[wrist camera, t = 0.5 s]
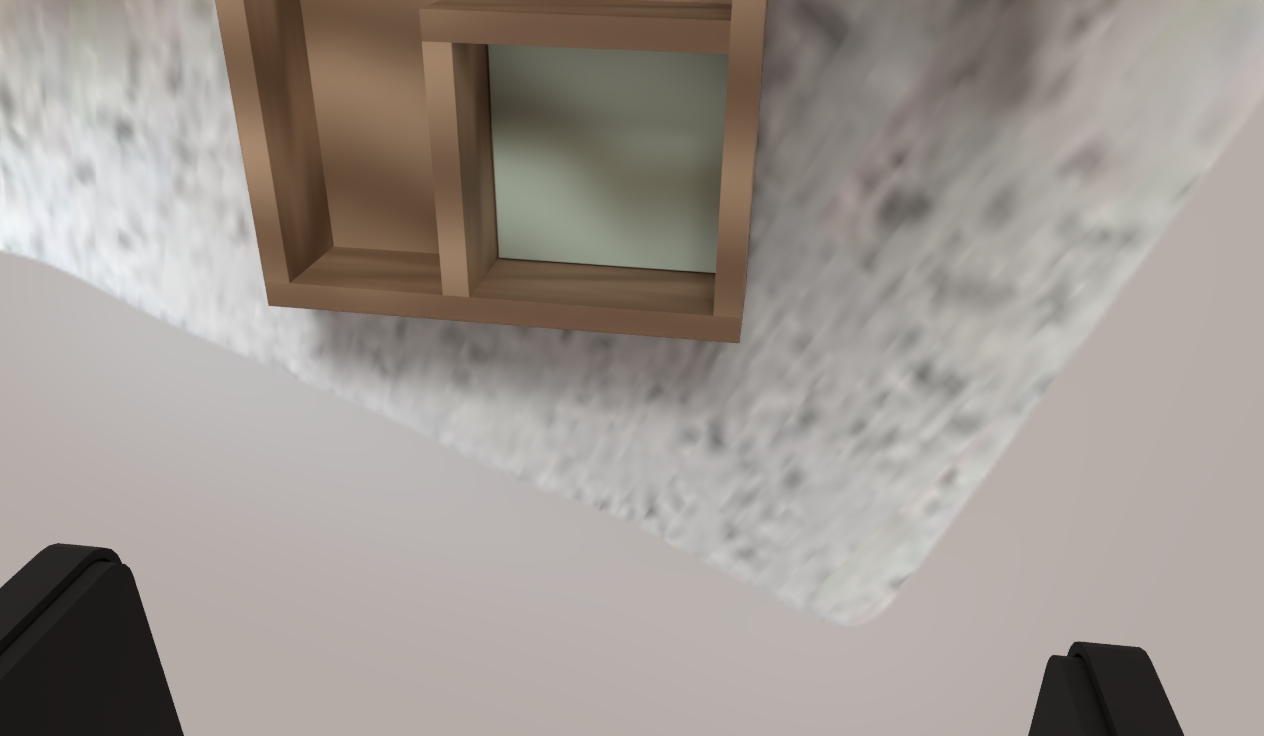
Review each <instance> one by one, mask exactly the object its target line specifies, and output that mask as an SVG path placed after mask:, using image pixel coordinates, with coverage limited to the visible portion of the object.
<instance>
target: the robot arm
mask: <svg viewBox="0 0 1264 736" xmlns="http://www.w3.org/2000/svg"><path fill="white" fill-rule="evenodd" d="M0 736H184V735H183V732H182V728H181V725H180V722H179V719H178V716H177V712H176V709H175V706H174V703H173V700H172V696H171V694H170V690H169V687H168V684H167V681H166V678H165V674H164V671H163V668H162V665H161V662H160V659H159V655H158V652H157V649H156V646H155V643H154V640H153V637H152V633H151V630H150V627H149V624H148V621H147V617H146V614H145V611H144V608H143V605H142V602H141V598H140V595H139V592H138V589H137V586H136V583H135V580H134V576H133V574H132V572H131V570H130V568H129V567H128V566H127V565H125V564H122V562H121V560H120V558H119V556H118V555H117V554H116V553H115V552H114V551H113V550H112V549H108V548H102V547H92V546H81V545H70V544H60V543H57V544H53V545H50V546H48V547H46V548H45V549H43V550H42V551H40V552H39V553H38V554H37V555H36V556H35V557H34V558H33V559H32V560H31V561H29V562H28V563H27V564H26V565H25V566H24V567H23V568H22V569H21V570H20V571H18V572H17V573H16V574H15V575H14V576H13V577H12V578H11V579H10V580H9V581H8V582H6V583H5V584H4V585H3V586H2V587H1V588H0ZM1028 736H1184V734H1183V732H1182V729H1181V727H1180V725H1179V723H1178V720H1177V718H1176V716H1175V714H1174V711H1173V709H1172V707H1171V705H1170V702H1169V700H1168V698H1167V696H1166V693H1165V691H1164V689H1163V687H1162V684H1161V682H1160V680H1159V678H1158V675H1157V673H1156V671H1155V668H1154V666H1153V664H1152V662H1151V660H1150V658H1149V656H1148V655H1147V653H1146V651H1144V650H1143V649H1142V648H1140V647H1131V646H1121V645H1110V644H1100V643H1089V642H1074V643H1073V645H1072V646H1071V647H1070V649H1069V652H1068V655H1067V656H1058V655H1052V656H1051V657H1050V658H1049V660H1048V663H1047V666H1046V669H1045V673H1044V677H1043V681H1042V685H1041V689H1040V692H1039V696H1038V700H1037V704H1036V708H1035V712H1034V716H1033V719H1032V724H1031V727H1030V731H1029V735H1028Z"/></svg>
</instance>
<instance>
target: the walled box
mask: <svg viewBox="0 0 1264 736" xmlns="http://www.w3.org/2000/svg"><path fill="white" fill-rule="evenodd" d="M215 3H216V9H217V15H218V20H219V26H220V32H221V37H222V43H223V49H224V54H225V60H226V66H227V71H228V77H229V83H230V88H231V94H232V100H233V105H234V111H235V117H236V122H237V128H238V134H239V140H240V145H241V151H242V157H243V162H244V168H245V174H246V179H247V185H248V191H249V196H250V202H251V208H252V213H253V219H254V225H255V230H256V236H257V242H258V247H259V253H260V259H261V264H262V270H263V276H264V281H265V287H266V293H267V299H268V304H269V306H280V307H292V308H305V309H317V310H330V311H342V312H355V313H367V314H380V315H392V316H405V317H417V318H430V319H443V320H455V321H468V322H480V323H493V324H505V325H518V326H530V327H543V328H555V329H568V330H580V331H593V332H606V333H618V334H631V335H643V336H656V337H668V338H681V339H693V340H706V341H718V342H731V343H739V342H740V334H741V325H742V317H743V308H744V300H745V291H746V278H747V265H748V252H749V239H750V226H751V213H752V200H753V187H754V174H755V160H756V147H757V134H758V121H759V108H760V95H761V82H762V69H763V56H764V43H765V30H766V17H767V4H768V0H215Z"/></svg>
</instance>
